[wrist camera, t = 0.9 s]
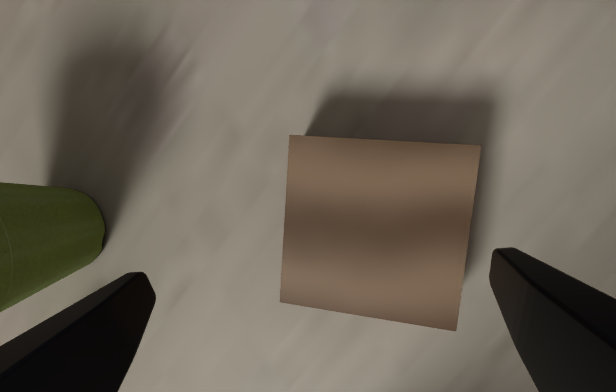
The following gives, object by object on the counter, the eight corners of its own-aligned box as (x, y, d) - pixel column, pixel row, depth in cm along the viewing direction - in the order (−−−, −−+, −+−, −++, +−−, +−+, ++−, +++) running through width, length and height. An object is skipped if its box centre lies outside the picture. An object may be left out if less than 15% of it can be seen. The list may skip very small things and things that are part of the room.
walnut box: (442, 302, 23) (456, 331, 19) (294, 280, 25) (279, 302, 21) (462, 148, 21) (481, 145, 17) (303, 139, 24) (289, 134, 20)
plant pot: (153, 215, 27) (-3, 254, 16) (92, 314, 29) (-78, 407, 18) (54, 132, 28) (-155, 115, 17) (4, 234, 30) (-206, 277, 19)
